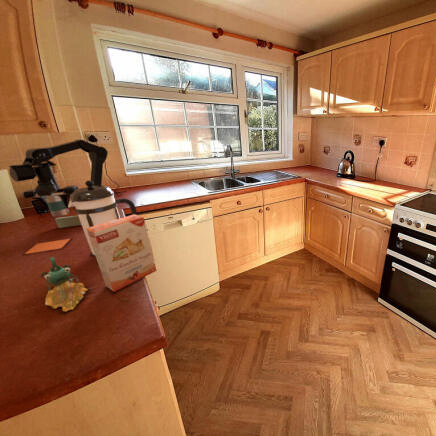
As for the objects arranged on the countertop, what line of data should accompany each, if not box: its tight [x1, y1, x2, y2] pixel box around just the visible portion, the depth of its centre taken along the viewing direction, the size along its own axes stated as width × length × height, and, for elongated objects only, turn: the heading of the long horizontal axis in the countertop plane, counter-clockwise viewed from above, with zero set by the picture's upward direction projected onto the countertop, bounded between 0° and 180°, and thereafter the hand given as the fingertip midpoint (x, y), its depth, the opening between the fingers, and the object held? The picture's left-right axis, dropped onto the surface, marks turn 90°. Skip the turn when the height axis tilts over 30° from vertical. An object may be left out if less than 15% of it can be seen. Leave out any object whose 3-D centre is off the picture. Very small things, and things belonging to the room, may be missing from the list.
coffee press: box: [68, 180, 139, 256], centre depth 95 cm, size 17×16×30 cm
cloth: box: [24, 238, 71, 255], centre depth 105 cm, size 12×10×1 cm
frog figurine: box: [40, 256, 88, 312], centre depth 72 cm, size 10×18×15 cm, turn 44°
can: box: [44, 192, 70, 218], centre depth 117 cm, size 6×6×10 cm
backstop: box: [54, 214, 82, 229], centre depth 126 cm, size 12×2×5 cm, turn 113°
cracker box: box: [86, 214, 157, 293], centre depth 78 cm, size 14×6×21 cm, turn 148°
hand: (58, 208), depth 118 cm, fingers closed on can, 6 cm apart
